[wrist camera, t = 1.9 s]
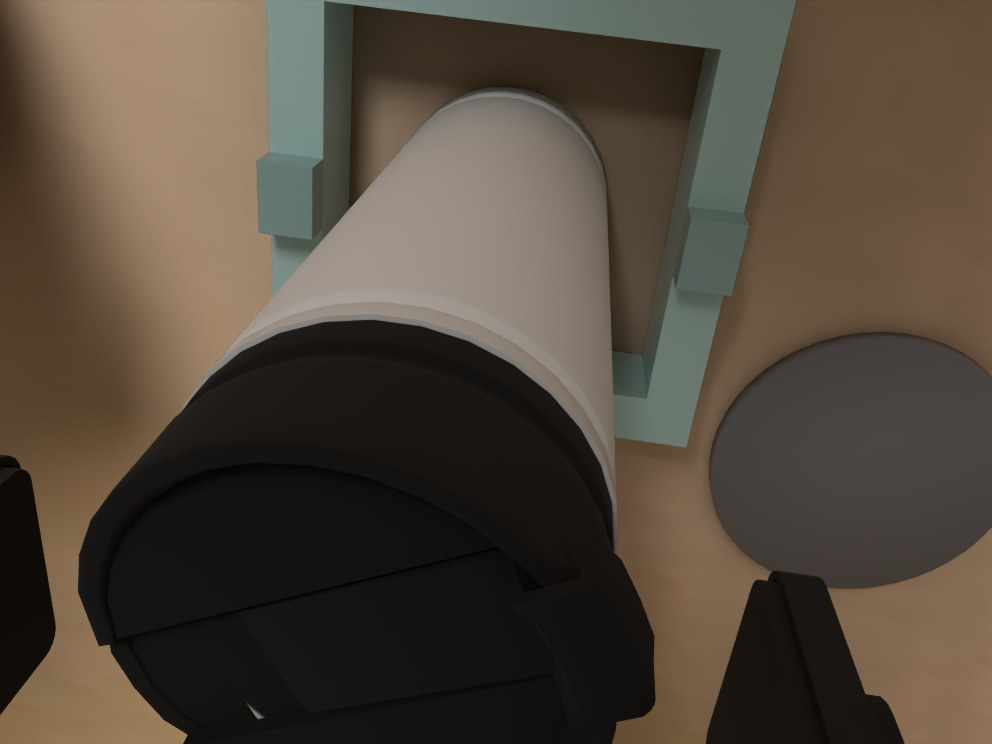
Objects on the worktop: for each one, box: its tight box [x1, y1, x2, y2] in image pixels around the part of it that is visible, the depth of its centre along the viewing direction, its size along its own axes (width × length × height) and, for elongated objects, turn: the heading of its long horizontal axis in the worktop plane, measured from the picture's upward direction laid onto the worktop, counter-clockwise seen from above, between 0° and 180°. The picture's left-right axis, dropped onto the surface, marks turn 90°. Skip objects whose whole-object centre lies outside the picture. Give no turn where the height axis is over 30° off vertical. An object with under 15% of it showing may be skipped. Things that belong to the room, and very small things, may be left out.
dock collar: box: [257, 0, 796, 448], centre depth 25 cm, size 13×13×4 cm
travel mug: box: [78, 86, 656, 744], centre depth 18 cm, size 6×7×20 cm
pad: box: [709, 332, 992, 588], centre depth 29 cm, size 10×10×1 cm
